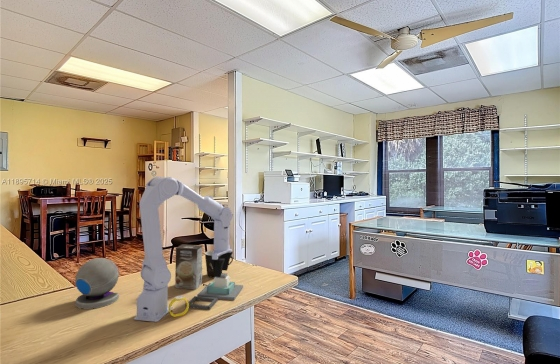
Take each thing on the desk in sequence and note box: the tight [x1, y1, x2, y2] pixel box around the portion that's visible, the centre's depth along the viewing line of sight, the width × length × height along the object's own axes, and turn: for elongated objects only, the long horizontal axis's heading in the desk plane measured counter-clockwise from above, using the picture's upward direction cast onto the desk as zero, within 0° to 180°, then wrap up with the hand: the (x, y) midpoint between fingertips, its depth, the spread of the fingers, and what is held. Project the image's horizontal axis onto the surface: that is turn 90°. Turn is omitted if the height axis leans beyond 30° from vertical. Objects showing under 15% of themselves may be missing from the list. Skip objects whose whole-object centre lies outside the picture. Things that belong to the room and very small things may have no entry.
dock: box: [196, 280, 244, 301], centre depth 113 cm, size 12×14×3 cm
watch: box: [168, 295, 190, 318], centre depth 94 cm, size 6×3×6 cm, turn 121°
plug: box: [213, 272, 231, 288], centre depth 113 cm, size 4×5×6 cm
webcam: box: [74, 257, 120, 310], centre depth 104 cm, size 13×13×15 cm
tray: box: [185, 295, 219, 310], centre depth 103 cm, size 7×9×1 cm
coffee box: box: [174, 243, 203, 290], centre depth 119 cm, size 9×6×16 cm
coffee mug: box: [204, 250, 234, 279], centre depth 132 cm, size 12×9×10 cm
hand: (221, 273), depth 113 cm, fingers open, 7 cm apart
